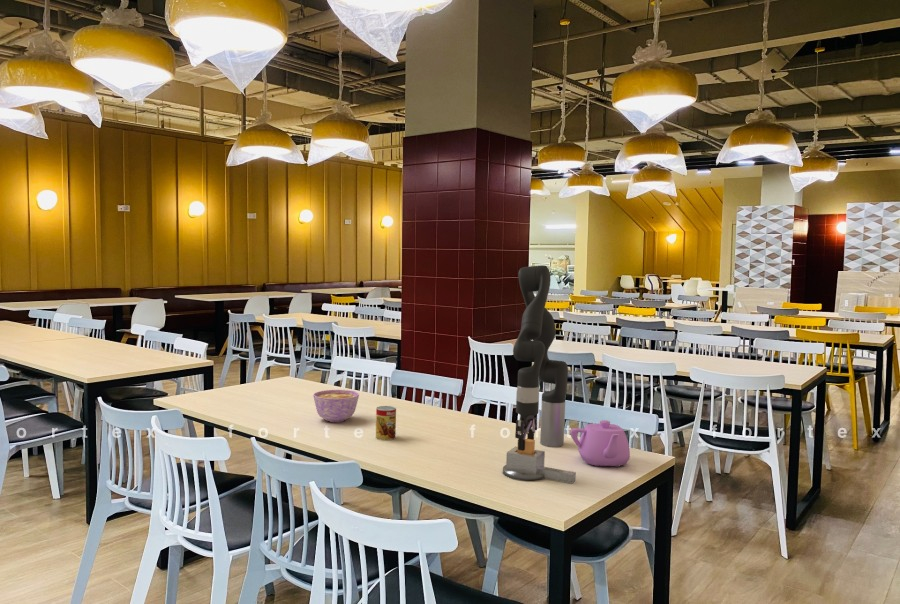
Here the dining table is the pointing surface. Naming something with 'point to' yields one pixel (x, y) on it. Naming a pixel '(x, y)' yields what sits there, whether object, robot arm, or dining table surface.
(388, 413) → the canned food
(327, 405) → the bowl of food
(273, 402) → the dining table surface
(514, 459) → the bracket
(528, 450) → the orange block
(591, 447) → the teapot
